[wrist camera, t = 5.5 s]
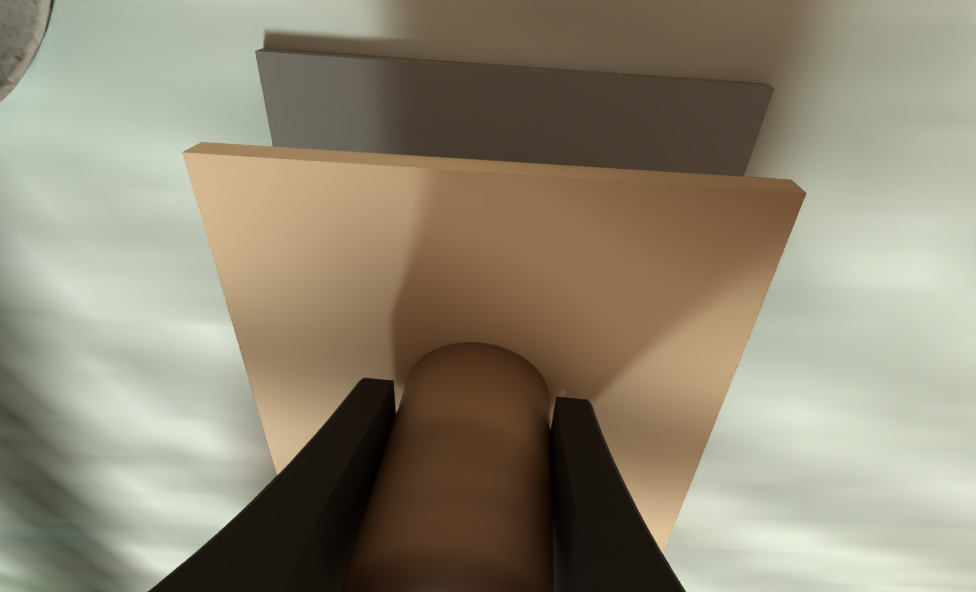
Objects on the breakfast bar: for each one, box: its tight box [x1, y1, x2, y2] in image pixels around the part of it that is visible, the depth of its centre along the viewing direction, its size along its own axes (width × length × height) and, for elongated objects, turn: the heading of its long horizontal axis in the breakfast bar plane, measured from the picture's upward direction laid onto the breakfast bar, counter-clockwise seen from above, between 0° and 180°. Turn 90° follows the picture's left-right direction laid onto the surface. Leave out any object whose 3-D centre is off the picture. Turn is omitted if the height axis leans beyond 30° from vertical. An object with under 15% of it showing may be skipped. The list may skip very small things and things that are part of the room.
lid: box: [182, 142, 806, 592], centre depth 10 cm, size 10×10×5 cm
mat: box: [255, 49, 774, 177], centre depth 16 cm, size 11×13×1 cm
